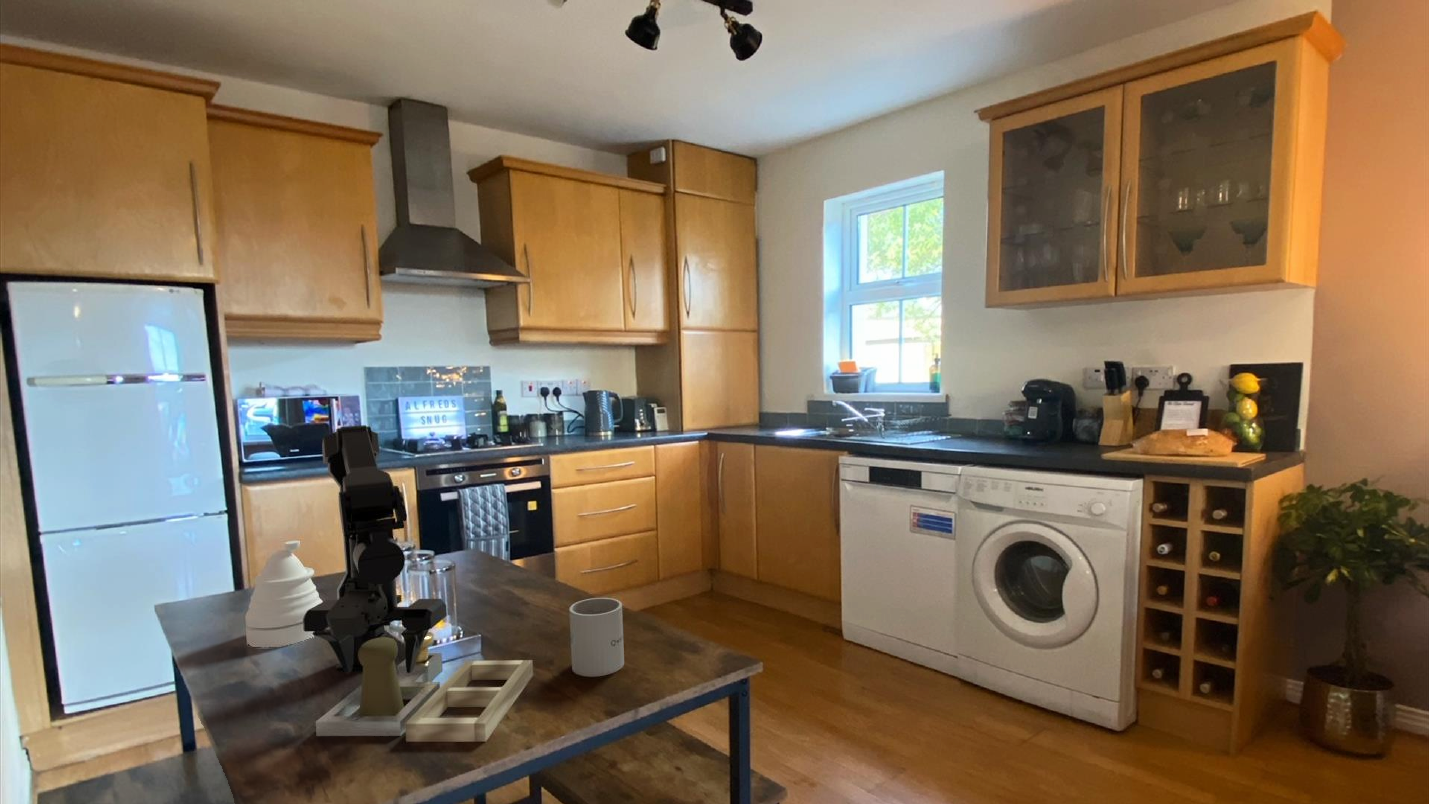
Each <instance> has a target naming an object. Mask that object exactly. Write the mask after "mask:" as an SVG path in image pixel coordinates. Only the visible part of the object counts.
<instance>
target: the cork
mask: <svg viewBox="0 0 1429 804" xmlns="http://www.w3.org/2000/svg"><path fill="white" fill-rule="evenodd" d="M398 652H399V647H398V644H397V641H396V640H395V639H394V638H391V637H381V638H375V639H372V640H369V641H367V642H365V643H364V644H362V646H361V647H360V649H359V652H358V658H359V661H360V664H361V665H362V666H363V669H362V674H361V675H362V676H361V678H362V679H361V685H362V686H361V698H360V708H359V709H358V710H359V711H358V716H396V715H397V714H398V713H399V712H400V711H401V710H402V709H403V708H404V707H405V706H404V702H403V701H404V699H402V695H401V691H400V686H399V681H398V676H397V675H398V671H397V668H396V667H397V666H396V664H395V663H396V662H395V660H396V659H397V656H398Z"/></svg>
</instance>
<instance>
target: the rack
mask: <svg viewBox="0 0 1429 804" xmlns="http://www.w3.org/2000/svg"><path fill="white" fill-rule="evenodd" d="M533 663H534V662H533V660H532V659H523V660H522V659H521V660H520V659H519V660H518V659H516V660H515V659H514V660H513V659H512V660H505V659H504V660H465V661H464V662H463V663H462V664H461V665H460V666H459V668H457V670H456V671H455V672H454V673H453V674H452V675H451V676H450V677H449V678H448V679H447V680H446V681H445V682H444V683H443V684H441V685H440V688H439V689H438V690H437V691H436V692H435V693H434V694H433V695H432V697H431V698H430V699H429V700H428V701H427V702H426V703H425V704H424V705H423V706H422V707H421V708H420V709H419V710H418V711H417V712H416V713H415V714H414V715H413V716H412V717H411V718H410V719H409V720H408V721H407V722H406V723H405V730H406V731H405V742H406V743H408V742H410V743H413V742H415V743H418V742H419V743H420V742H424V743H425V742H429V743H430V742H431V743H433V742H434V743H435V742H436V743H437V742H441V743H442V742H444V743H445V742H447V743H448V742H449V743H450V742H454V743H455V742H457V743H459V742H461V743H462V742H464V743H465V742H470V743H471V742H472V743H473V742H483V743H484V742H485V743H486V742H487V740H488V739H489V738H490V737H491V735H492V734H493V732H494V731H495V729H497V727H498V726H499V724H500V723H501V721H502V720H503V718H504V717H505V716H506V714H507V713H508V712H509V710H510V708H511V707H512V706H513V704H514V703H515V701H516V700H517V699H518V698H519V696H520V694H521V693H522V692H523V690H524V688H526V686H527V684H528V683H529V682H530V681H531V680H532V678H533V676H534V668H533V665H534V664H533ZM474 680H475V681H485V680H486V681H491V680H492V681H493V680H495V681H496V680H497V681H499V680H501V681H504V680H506V682H505V683H504V685H502V686H499V687H497V686H496V687H493V686H490V687H489V686H487V687H484V686H483V687H482V686H481V687H477V686H475V687H473V686H472V687H469V686H468V685H470V683H471V682H472V681H474ZM448 708H484V710H483V711H482V712H481V714H480V715H479V716H478V717H441V716H442V715H443V713H445V711H446V710H447V709H448Z"/></svg>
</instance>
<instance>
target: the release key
mask: <svg viewBox="0 0 1429 804" xmlns="http://www.w3.org/2000/svg"><path fill="white" fill-rule="evenodd" d="M433 644H434V633H433V632H430V631H428V633H427V635H426V637H425V639H424V641H423V644H422V647H421V649H420V652H419V655H418V658H417V660H416V663H415V664H425V663H426V662H427V661H428V660H429V658H428V653H429V647H430V646H431V645H433ZM403 645H404V647H403V648H405V639H404V638H403Z"/></svg>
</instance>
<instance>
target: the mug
mask: <svg viewBox="0 0 1429 804" xmlns="http://www.w3.org/2000/svg"><path fill="white" fill-rule="evenodd" d="M569 627H570V629H569V631H570V647H571V649H570V652H571V669H572V672H573V673H574V674H576V675H578V676H582V677H590V678H591V677H602V676H607V675H611V674H614V673H617V672H618V671H619V670H621V669H622V668H623V667H624V666H625V654H624V653H625V651H624V623H623V603H622V602H621V601H620V600H618V599H615V598H612V597H611V598H610V597H594V598H593V597H592V598H587V599H584V600H579V601H577V602H574V603H572V604H571V606H570V607H569Z"/></svg>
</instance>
